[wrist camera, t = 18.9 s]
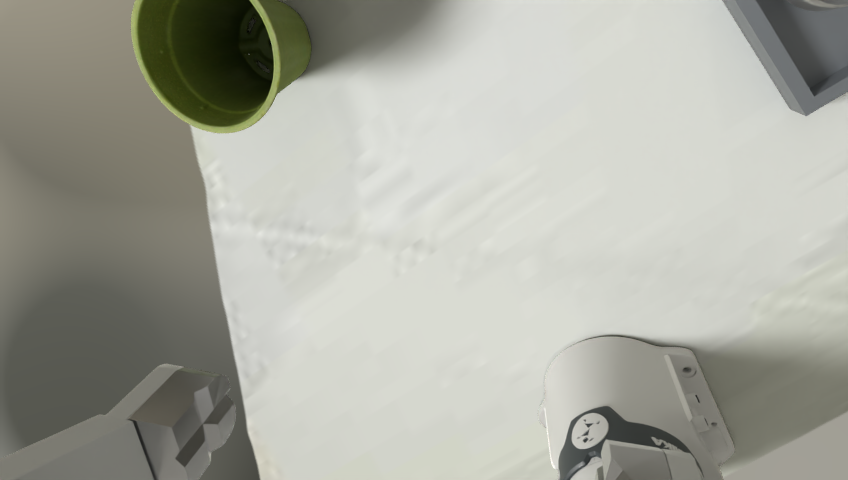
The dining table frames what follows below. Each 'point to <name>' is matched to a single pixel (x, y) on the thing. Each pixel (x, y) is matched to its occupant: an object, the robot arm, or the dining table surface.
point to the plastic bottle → (819, 4)
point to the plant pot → (218, 57)
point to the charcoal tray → (797, 49)
